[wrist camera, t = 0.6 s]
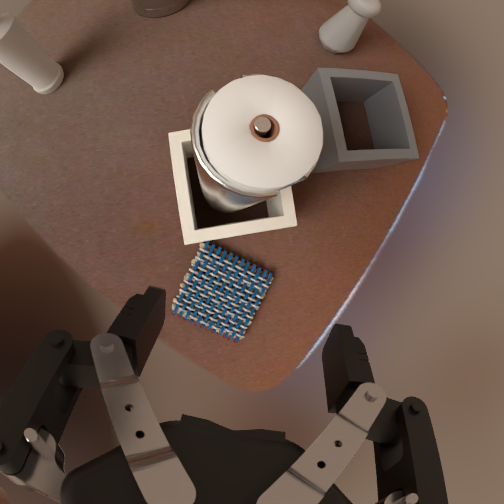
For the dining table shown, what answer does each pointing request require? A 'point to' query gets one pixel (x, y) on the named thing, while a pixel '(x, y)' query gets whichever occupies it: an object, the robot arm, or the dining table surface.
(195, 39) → the dining table surface
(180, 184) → the white open box
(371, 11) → the salt shaker
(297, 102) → the silver tall cylinder
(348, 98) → the grey open box
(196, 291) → the woven mat
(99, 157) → the dining table surface
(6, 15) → the bottle
